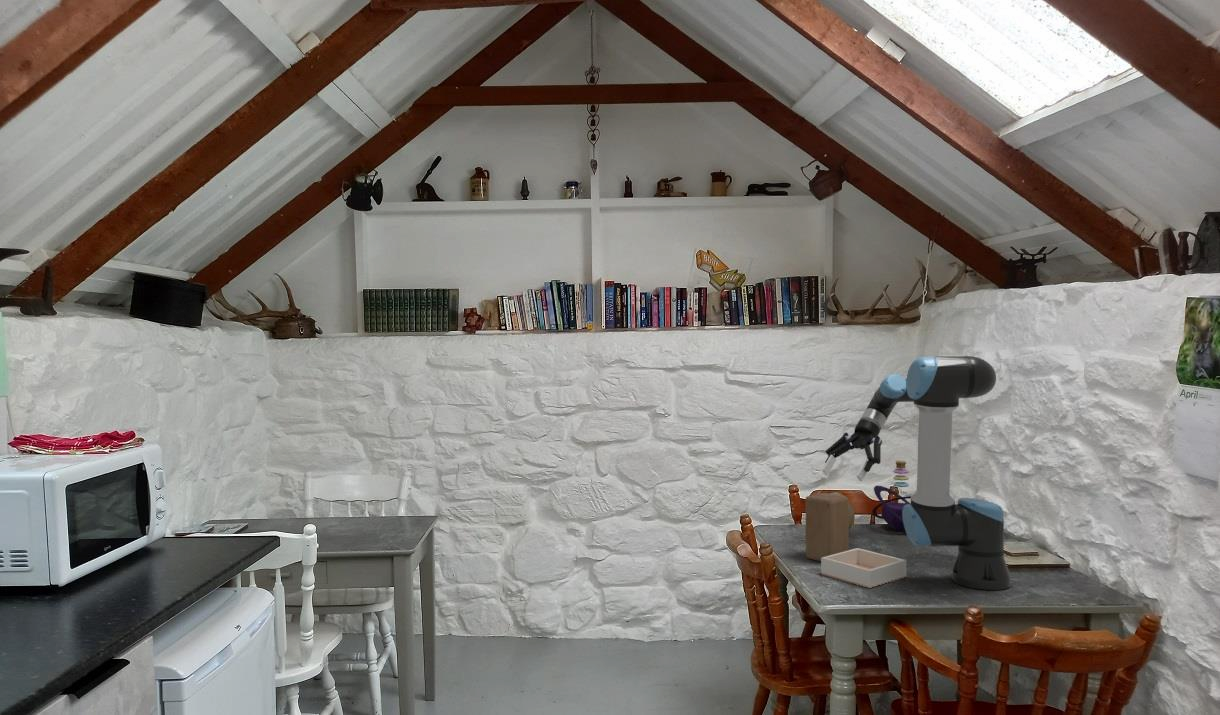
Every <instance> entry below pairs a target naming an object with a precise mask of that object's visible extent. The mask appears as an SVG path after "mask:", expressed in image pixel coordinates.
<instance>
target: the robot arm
mask: <svg viewBox="0 0 1220 715" xmlns="http://www.w3.org/2000/svg"><path fill="white" fill-rule="evenodd" d="M996 383H997V375H996V371H995V368H994V367H993V365H991V363H989V362H988V361H986V360H985V359H983V358H980V357H977V356H971V355H962V356H950V355H949V356H946V355H945V356H943V355H942V356H937V355H936V356H933V355H931V356H922V357H917V358H916V359H914V360H913V361H912V363H911V364H910V366H909V368H908V370H907V373H906V378H905V377H904V376H902V375H900V374H898V373H891V374H889V375H886V377H885V378H884V379H883V380H882V381H881V383H880V385H879V387H878V388H877V389H876V391H875V392H874V394H873V396H872V398H871V399H870V401H869V403H868V405H867V407H866V408H865V410H864V411H863V413H862V415H861V417H860V418H859V421H857V424H856V426H855V427H854V432H853V433H852V434H849V433H848V432H844V433H843V435H842V436H841V437H840V438H839V439H838V440H836V441H835V442H834V443H833V444H832V445H831V446H830V447H828V448H827V449H826V450H825V453H826V454H827V458H826V460H825V461H824V465H823V467H822V469H821V471H822V472H823V473H824V475H825V476H828V475H829V473H830V472H831V470H832V468H833V467H834V465H835V463H836V461H837V458H838V457H840V456H841V455H843V454H845V453H847V452H848V451H850V450H854V449H859V450H864V451H865V454H866V459H864V461H863V462H862V464H861V465H860V468H859V470H858V471H857V473H856V475H855V476H856V478H857V479H858V480H859V482H863V480H864V479H865V476H866V474H867V473H869V472H870V471H871V469H872V467H873V466H874V465H875V464H877V465H879V464H881V463H882V462H881V454H882V453H881V451H882V450H881V449H882V448H881V445H882V444H883V440H882V439H881V437H880V436H879V435H880V433H881V431H882V429H883V427H884V425H885V424H886V422H887V420H888V418H889V416H890V415H891V413H892V411H893V410H894V408H895V407H896V406H897V404H898V403H912V402H913V405H914V406H915V407H916V408H917V410H918V435H917V437H918V439H917V468H916V469H917V470H916V471H917V472H916V491H915V492H914V494H912V495H910V496H911V498H910V503H911V504H907V505H905V506H904V507H903V511H902V517H903V524H904V528H905V531H904V532H905V533H906V536H907V538H908V540H909V541H910V542H911V543H912V544H913V545H914V546H916V547H917V546H918V547H928V548H931V547H958V554H957V557H956V559H955V562H954V565H953V568H952V571H951V579H952V581H953V582H955V584H958V585H960V586H962V587H965V588H966V587H967V588H971V589H974V590H975V589H976V590H987V591H1001V590H1005V589H1009V588H1010V587H1012V576H1011V573H1010V571H1009V568H1008V565H1007V563H1006V558H1005V554H1004V553H1005V547H1004V546H1005V542H1004V541H1005V538H1004V537H1005V518H1004V509H1003V508H1002V507H1001V505H999V504H998V503H996V502H991V501H987V500H984V499H977V498H970V497H959V498H958V499H957V502H956V500H955V499H954V498H953V497H952V496H951V494H950V490H951V489H950V486H951V483H950V481H951V464H952V462H951V460H952V433H953V432H952V430H953V412H954V411H955V410H956V409H957V408H958V407H959V404H960V399H971V398H979V397H982V396H985V395H987V394H988V393H990V392H991V391H992V390H993V389H994V388H995V386H996ZM871 445H873V454H872V449H871Z"/></svg>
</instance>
